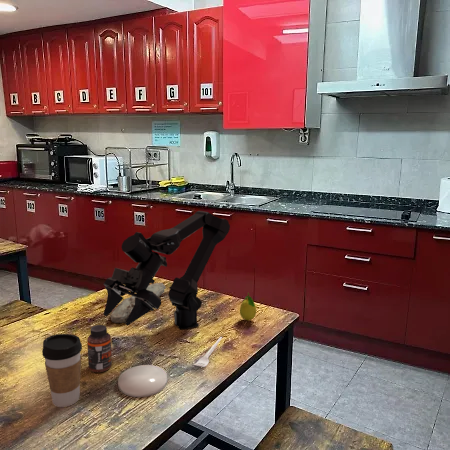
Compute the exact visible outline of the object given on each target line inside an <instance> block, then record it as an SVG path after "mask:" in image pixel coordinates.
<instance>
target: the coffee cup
mask: <svg viewBox="0 0 450 450" xmlns="http://www.w3.org/2000/svg"><path fill="white" fill-rule="evenodd" d="M82 350H83V344H82V342H81V338H80V337H79V336H78V335H75V334H71V333H70V334H69V333H59V334H53V335H49V336H48V337H46V338H45V339H44V340H43V342H42V351H41V353H42V354H41V355H42V357H43V358H44V367H45V370H46V376H47V381H48V386H49V389H50V396H51V401H52V405H54V406H55V407H58V408H64V407H69V406H72V405H74V404H76V403H77V402H78V400H80V397H81V396H80V394H81V393H80V391H81V390H80V389H81V386H80V385H81V372H82V371H81V369H82V367H81V366H82V355H81V351H82Z"/></svg>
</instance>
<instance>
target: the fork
mask: <svg viewBox="0 0 450 450" xmlns="http://www.w3.org/2000/svg"><path fill="white" fill-rule="evenodd" d="M222 339H223V336H219V338H218V339H217V340H216V342H215V343H213V345H212V346H211V348H209V350H208V351H207V352H206V353H205V355H203V356H201V357H200V358H199V359H198V360H197V361H196V363H193V364H192V366H197V367H202V368H205V367H207V366H208V364H209V362H210V360H209V357H210V356H211V354H212V353H213V352H214V350H215V349H216V347H218V344H219V343H220V342H221V340H222Z"/></svg>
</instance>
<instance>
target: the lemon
mask: <svg viewBox="0 0 450 450" xmlns="http://www.w3.org/2000/svg"><path fill="white" fill-rule="evenodd" d="M239 314H240V316H241V318H242V319H244V321H245V320H246V321H247V322H249V321H251V320H253V319H254V318H255V317H256V314H257V306H256V304H255V302H254V299H253V298H252V296H250V293H249V292H247V295H245V298H244V299H243V300H242V302H241V304H240V306H239Z"/></svg>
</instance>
